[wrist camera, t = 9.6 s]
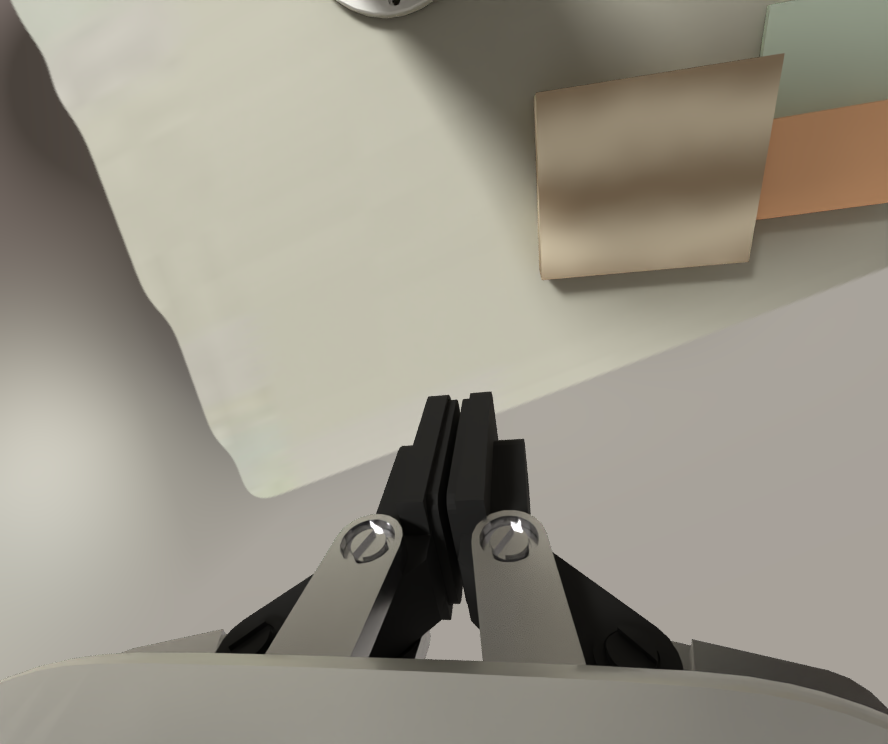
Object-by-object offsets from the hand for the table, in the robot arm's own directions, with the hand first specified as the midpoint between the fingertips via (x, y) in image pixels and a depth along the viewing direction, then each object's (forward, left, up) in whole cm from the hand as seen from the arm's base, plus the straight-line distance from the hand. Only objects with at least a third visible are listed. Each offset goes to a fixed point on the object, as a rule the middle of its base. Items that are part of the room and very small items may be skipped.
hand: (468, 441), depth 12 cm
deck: (-4, +10, -27) cm, 29 cm away
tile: (-3, +22, -26) cm, 34 cm away
